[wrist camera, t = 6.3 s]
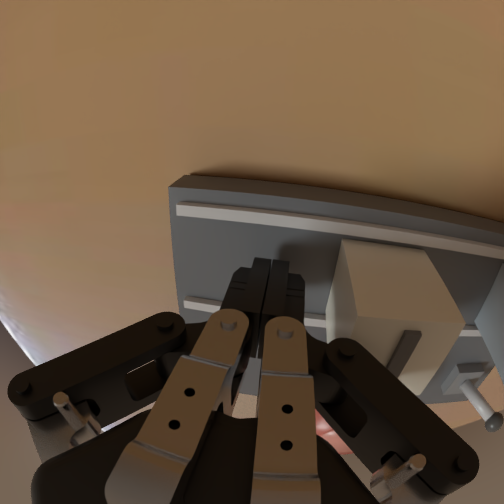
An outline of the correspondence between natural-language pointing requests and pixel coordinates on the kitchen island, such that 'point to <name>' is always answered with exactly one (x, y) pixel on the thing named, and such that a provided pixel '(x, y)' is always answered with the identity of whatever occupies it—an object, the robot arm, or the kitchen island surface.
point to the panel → (332, 258)
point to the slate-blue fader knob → (494, 322)
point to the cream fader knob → (393, 309)
